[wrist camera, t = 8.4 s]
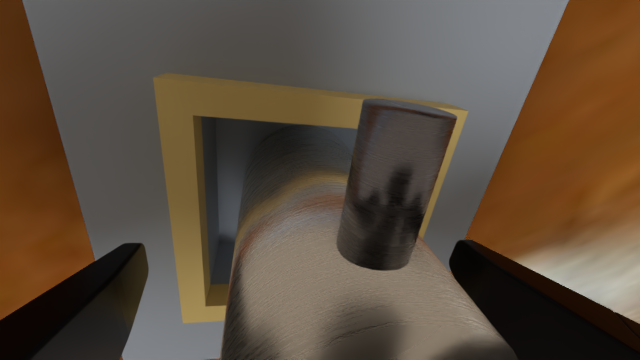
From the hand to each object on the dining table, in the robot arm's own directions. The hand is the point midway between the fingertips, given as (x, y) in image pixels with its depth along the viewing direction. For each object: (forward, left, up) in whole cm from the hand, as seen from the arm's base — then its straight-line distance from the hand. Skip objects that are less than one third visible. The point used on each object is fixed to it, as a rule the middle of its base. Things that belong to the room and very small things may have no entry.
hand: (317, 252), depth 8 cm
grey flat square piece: (0, 0, -6) cm, 6 cm away
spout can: (+1, 0, -5) cm, 5 cm away
